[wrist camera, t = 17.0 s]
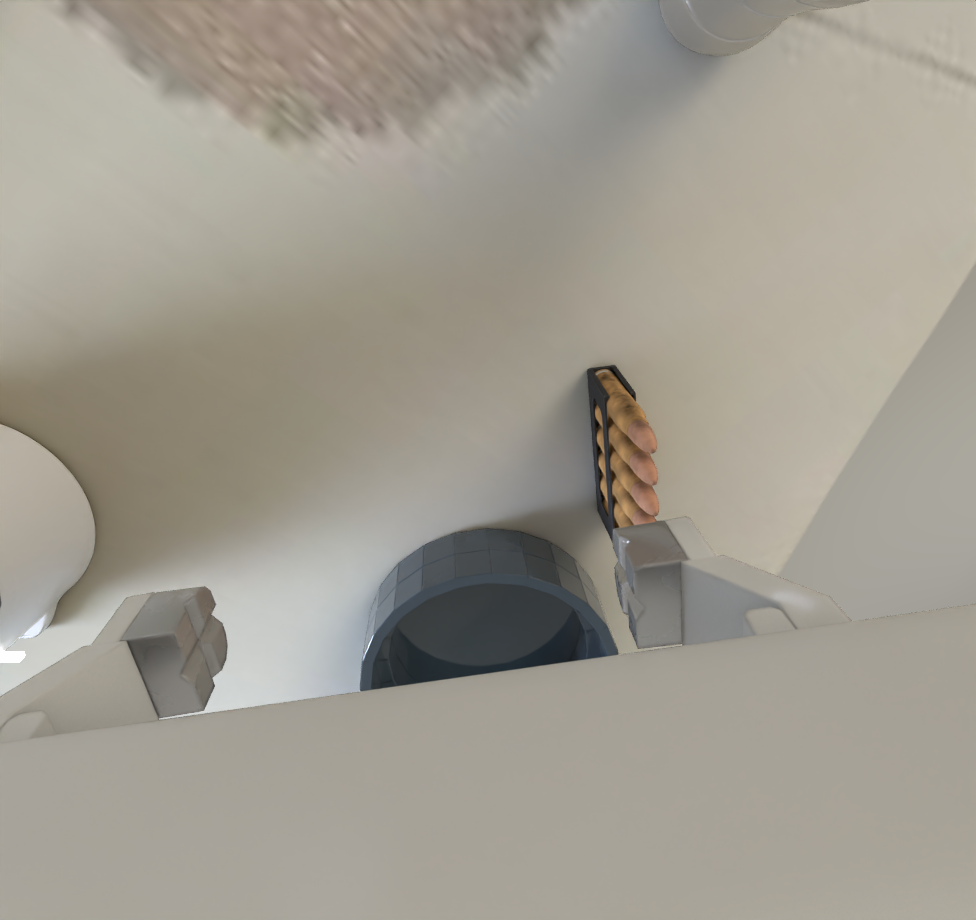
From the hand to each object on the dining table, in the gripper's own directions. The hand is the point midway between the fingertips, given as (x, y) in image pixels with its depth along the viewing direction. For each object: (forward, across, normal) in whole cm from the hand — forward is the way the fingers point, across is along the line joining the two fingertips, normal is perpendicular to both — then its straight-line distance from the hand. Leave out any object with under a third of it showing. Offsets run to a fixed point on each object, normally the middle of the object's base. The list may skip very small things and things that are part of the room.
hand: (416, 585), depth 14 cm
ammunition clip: (+31, -10, +11) cm, 35 cm away
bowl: (+31, 0, +25) cm, 40 cm away
